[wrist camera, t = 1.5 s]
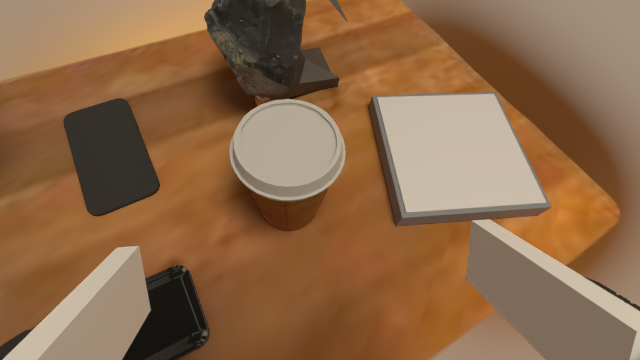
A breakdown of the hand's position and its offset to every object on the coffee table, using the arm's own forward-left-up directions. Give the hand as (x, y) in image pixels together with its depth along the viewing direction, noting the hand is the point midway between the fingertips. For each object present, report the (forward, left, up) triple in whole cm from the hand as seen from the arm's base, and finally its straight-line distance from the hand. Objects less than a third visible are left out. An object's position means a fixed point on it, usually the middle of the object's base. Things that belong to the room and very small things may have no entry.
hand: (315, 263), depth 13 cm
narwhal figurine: (0, +29, -21) cm, 36 cm away
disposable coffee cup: (0, +12, -21) cm, 24 cm away
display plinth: (+20, +17, -20) cm, 33 cm away
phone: (-20, +20, -21) cm, 36 cm away
